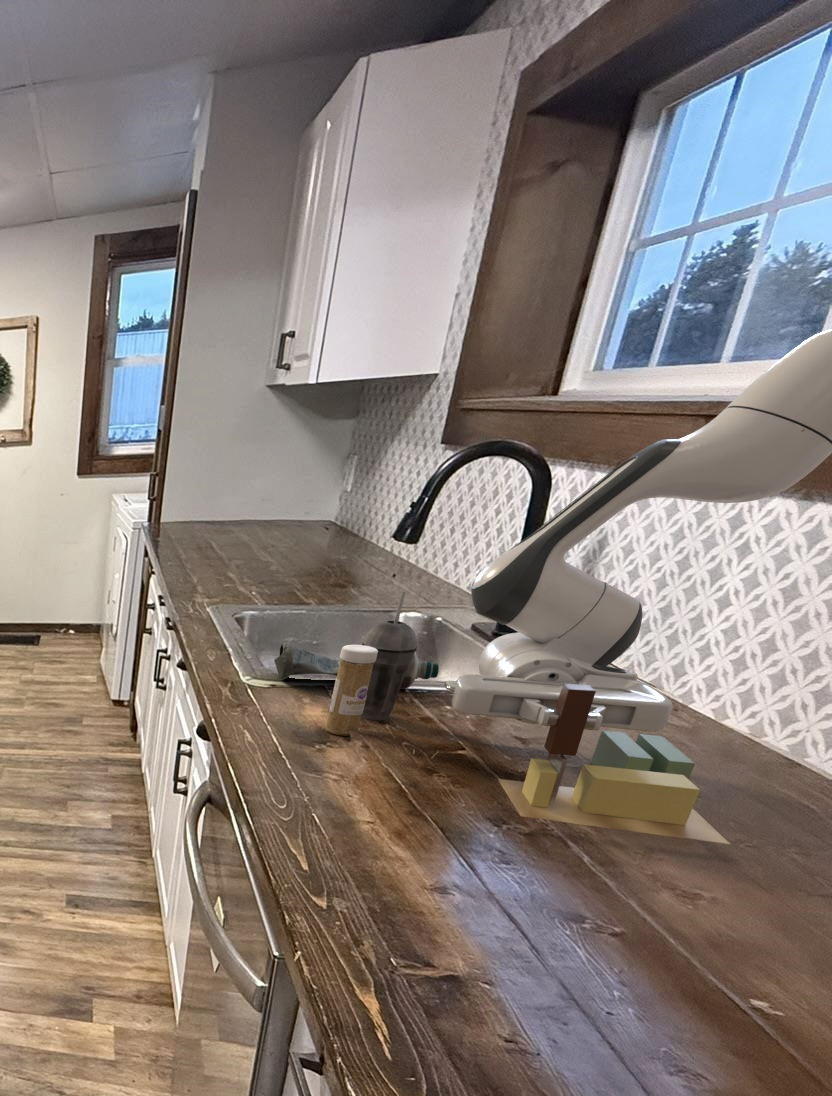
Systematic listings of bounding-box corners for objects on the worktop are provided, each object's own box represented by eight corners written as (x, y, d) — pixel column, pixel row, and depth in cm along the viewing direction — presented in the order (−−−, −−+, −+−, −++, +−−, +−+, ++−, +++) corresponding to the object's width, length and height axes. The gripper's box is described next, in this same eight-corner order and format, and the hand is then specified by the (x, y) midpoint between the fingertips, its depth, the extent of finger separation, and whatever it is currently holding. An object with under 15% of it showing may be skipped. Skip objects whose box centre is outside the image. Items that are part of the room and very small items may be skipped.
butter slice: (537, 793, 102) (547, 759, 100) (547, 807, 98) (558, 773, 97) (521, 791, 103) (531, 758, 101) (530, 805, 99) (541, 771, 97)
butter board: (680, 812, 99) (685, 800, 99) (725, 856, 90) (731, 844, 89) (494, 789, 107) (497, 778, 106) (517, 827, 97) (521, 816, 97)
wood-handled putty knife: (552, 789, 101) (586, 681, 96) (564, 806, 97) (600, 694, 92) (528, 787, 103) (559, 680, 97) (538, 803, 98) (572, 692, 93)
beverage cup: (340, 716, 134) (368, 594, 126) (353, 705, 139) (380, 586, 131) (392, 726, 129) (424, 599, 121) (404, 714, 134) (435, 591, 126)
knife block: (645, 778, 108) (662, 735, 106) (677, 808, 100) (695, 763, 98) (586, 771, 111) (601, 730, 109) (612, 800, 103) (629, 756, 100)
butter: (669, 809, 97) (683, 774, 95) (685, 825, 93) (700, 789, 91) (571, 797, 101) (583, 763, 99) (582, 812, 97) (595, 777, 95)
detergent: (269, 685, 150) (438, 699, 138) (276, 646, 148) (448, 657, 136) (272, 672, 161) (429, 684, 148) (278, 636, 158) (438, 645, 146)
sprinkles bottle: (348, 738, 125) (368, 652, 120) (318, 730, 129) (336, 646, 123) (364, 732, 127) (384, 647, 122) (334, 724, 131) (352, 642, 126)
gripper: (448, 657, 110) (468, 686, 99) (651, 672, 101) (699, 705, 90) (436, 702, 112) (454, 735, 101) (633, 720, 104) (678, 758, 92)
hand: (572, 721), depth 95 cm, fingers closed on wood-handled putty knife, 2 cm apart
